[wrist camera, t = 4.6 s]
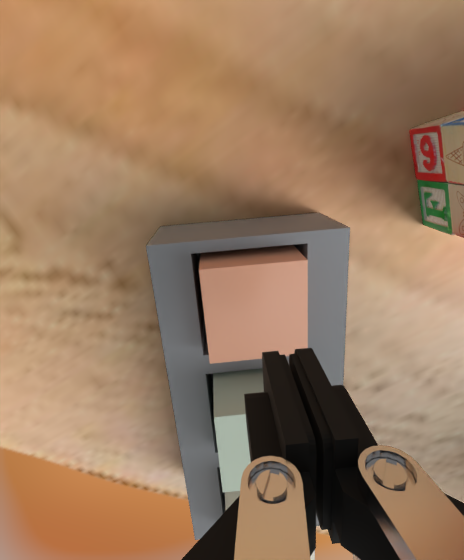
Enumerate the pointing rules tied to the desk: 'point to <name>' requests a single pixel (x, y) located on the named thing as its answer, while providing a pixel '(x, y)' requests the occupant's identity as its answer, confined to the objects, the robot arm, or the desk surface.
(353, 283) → the desk surface
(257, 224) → the frame
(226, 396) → the sage button
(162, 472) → the desk surface
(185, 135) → the desk surface
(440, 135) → the stack of blocks
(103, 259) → the desk surface
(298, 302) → the terracotta button
